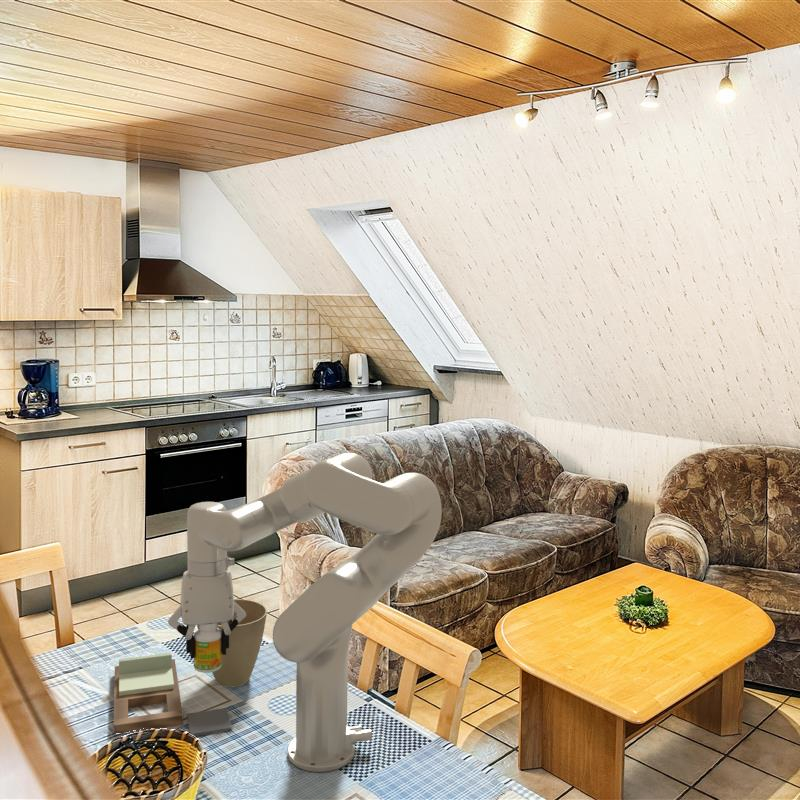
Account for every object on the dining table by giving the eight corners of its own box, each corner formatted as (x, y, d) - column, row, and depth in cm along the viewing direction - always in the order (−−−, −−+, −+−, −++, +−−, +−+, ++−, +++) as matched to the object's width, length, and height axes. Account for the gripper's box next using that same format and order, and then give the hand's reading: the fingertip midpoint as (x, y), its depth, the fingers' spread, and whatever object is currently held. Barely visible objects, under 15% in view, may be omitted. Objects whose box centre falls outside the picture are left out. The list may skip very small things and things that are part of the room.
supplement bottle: (194, 674, 154) (193, 627, 153) (193, 662, 160) (193, 616, 158) (222, 672, 156) (222, 624, 155) (221, 659, 161) (220, 614, 160)
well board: (174, 667, 183) (174, 658, 182) (182, 724, 158) (182, 715, 158) (114, 674, 178) (114, 666, 178) (113, 735, 154) (113, 725, 154)
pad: (226, 710, 164) (226, 707, 164) (231, 730, 157) (231, 727, 157) (187, 716, 162) (186, 713, 161) (190, 736, 154) (190, 734, 154)
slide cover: (171, 669, 177) (171, 652, 176) (174, 688, 169) (173, 670, 168) (119, 676, 173) (118, 659, 173) (119, 696, 165) (118, 677, 164)
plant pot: (186, 691, 172) (185, 620, 170) (217, 661, 186) (217, 596, 184) (250, 700, 168) (249, 629, 166) (277, 669, 183) (277, 603, 181)
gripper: (248, 556, 161) (248, 641, 164) (160, 563, 156) (161, 651, 158) (254, 568, 154) (254, 656, 157) (162, 576, 149) (163, 667, 151)
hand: (207, 652), depth 157 cm, fingers closed on supplement bottle, 5 cm apart
